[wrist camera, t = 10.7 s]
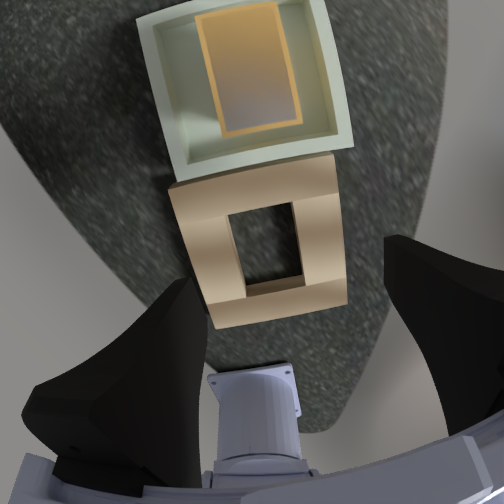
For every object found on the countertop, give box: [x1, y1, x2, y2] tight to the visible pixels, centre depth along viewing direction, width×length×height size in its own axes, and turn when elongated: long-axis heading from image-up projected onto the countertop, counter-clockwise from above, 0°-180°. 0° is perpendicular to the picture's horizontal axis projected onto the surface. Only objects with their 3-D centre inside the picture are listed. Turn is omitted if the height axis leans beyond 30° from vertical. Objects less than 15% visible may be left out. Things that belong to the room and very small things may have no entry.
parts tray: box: [136, 0, 354, 182], centre depth 15 cm, size 10×10×2 cm
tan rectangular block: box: [194, 1, 303, 138], centre depth 13 cm, size 5×3×7 cm, turn 11°
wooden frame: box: [168, 151, 347, 329], centre depth 21 cm, size 11×10×2 cm
